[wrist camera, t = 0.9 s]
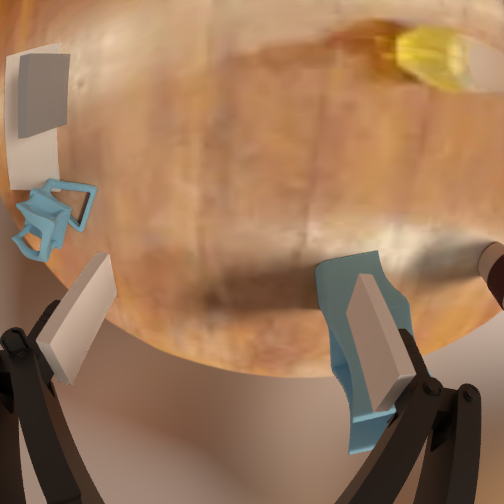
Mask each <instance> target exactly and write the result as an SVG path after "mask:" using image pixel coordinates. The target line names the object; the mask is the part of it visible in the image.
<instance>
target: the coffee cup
mask: <svg viewBox="0 0 504 504" xmlns="http://www.w3.org/2000/svg"><path fill="white" fill-rule="evenodd" d="M478 271H479V274H480V275H481V276H482V278H483V279H484V281H485V282H486V283H487V286H488V288H489V290H490V291H491V293H492V294H493V296H494V297H495V299H496V300H497V302H498V303H499V305H500V306H501V308H502V309H503V310H504V245H503V244H501V243H494V244H492V245H490V246H489V247H487V248H486V249H485V251H484V252H483V253H482V255H481V257H480V260H479V263H478Z"/></svg>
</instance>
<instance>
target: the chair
mask: <svg viewBox="0 0 504 504" xmlns="http://www.w3.org/2000/svg"><path fill="white" fill-rule="evenodd" d="M52 188H56V189H63V190H73V191H83V192H89V193H90V197H89V200H88V203H87V206H86V209H85V212H84V215H83V218H82V221H81V224H79V223H78V222H77V221H76V220H75V219H74V218H73V217H72V216H71V215H70V214H71V211H72V208H71V207H70V206H68V205H66V204H64V203H62V202H60V201H59V200H57V199H56V198H55V197H53V196H52V195H51V190H52ZM96 192H97V188H96V187H95V186H92V185H87V184H81V183H73V182H66V181H60V180H55V179H52V178H50V179H49V180H48V181H47V182H46V183H45V185H44V186H43V187H42V188H39V189H37V188H35V187H34V188H32V189H31V191H30V196H29V200H27V201H24V202H20V203H18V204H16V207H17V208H18V209H19V210H20V211H21V212H22V214H23V215H24V217H25V218H26V219H25V225H24V229H23V230H22V231H21V232H20V233H19V234H18V235H16V236H13V237H12V240H13V241H14V242H15V243H16V244H17V245H18V247H19V248H20V250H21V252H22V253H23V254H24V255H25V256H26V257H28V258H30V259H32V260H37V261H42V262H47V261H48V259H49V257H50V254H51V251H52V249H53V248H54V247H56V248H57V249H59V250H60V249H61V247H62V245H63V241H64V237H65V232H66V228H67V224H68V223H69V224H70V225H71V226H72V227H73V228H75V229H76V230H77V231H79V232H82V231H83V230H84V228H85V225H86V222H87V219H88V216H89V213H90V210H91V207H92V204H93V201H94V198H95V195H96ZM28 232H30V233H31V234H33V235H35V236H37V237H39V238H41V239H42V241H41V246H40V251H35V250H32V249H30V248H28V247H27V246H26V245H25V244H24V242H23V241H22V239H21V237H23V236H24V235H25V234H27V233H28Z"/></svg>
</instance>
